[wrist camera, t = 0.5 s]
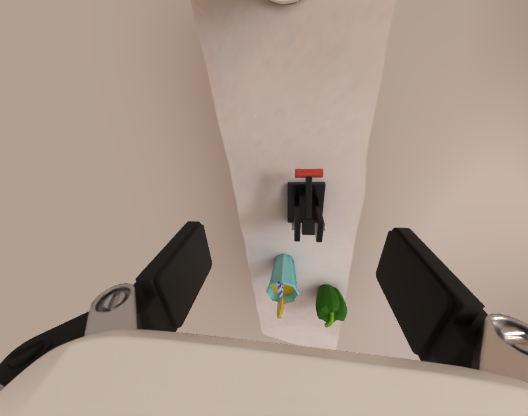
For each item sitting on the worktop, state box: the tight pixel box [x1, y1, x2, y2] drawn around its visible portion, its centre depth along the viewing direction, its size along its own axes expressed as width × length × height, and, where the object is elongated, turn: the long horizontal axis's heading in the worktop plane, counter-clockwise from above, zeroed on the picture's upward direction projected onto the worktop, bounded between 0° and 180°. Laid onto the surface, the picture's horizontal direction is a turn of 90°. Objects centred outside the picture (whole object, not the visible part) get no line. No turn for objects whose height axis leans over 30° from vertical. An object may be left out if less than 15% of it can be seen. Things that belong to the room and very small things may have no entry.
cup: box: [267, 254, 299, 318], centre depth 48 cm, size 14×8×15 cm, turn 6°
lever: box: [295, 169, 323, 235], centre depth 36 cm, size 12×5×2 cm, turn 1°
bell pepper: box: [316, 285, 347, 327], centre depth 54 cm, size 8×8×10 cm
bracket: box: [288, 182, 325, 242], centre depth 40 cm, size 10×8×12 cm
